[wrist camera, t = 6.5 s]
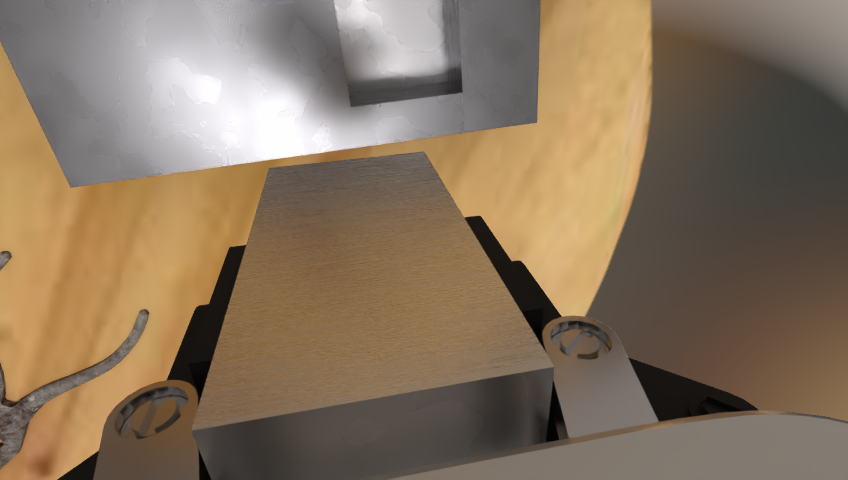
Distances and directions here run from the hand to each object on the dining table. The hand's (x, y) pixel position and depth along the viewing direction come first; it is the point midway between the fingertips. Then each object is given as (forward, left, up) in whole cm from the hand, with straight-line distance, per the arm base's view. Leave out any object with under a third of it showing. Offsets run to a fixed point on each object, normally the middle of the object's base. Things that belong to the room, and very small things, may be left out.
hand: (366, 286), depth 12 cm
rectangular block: (-4, -2, -19) cm, 20 cm away
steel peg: (0, 0, -3) cm, 3 cm away
